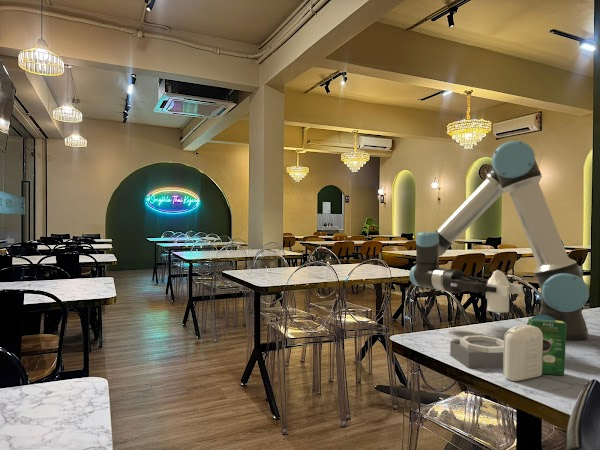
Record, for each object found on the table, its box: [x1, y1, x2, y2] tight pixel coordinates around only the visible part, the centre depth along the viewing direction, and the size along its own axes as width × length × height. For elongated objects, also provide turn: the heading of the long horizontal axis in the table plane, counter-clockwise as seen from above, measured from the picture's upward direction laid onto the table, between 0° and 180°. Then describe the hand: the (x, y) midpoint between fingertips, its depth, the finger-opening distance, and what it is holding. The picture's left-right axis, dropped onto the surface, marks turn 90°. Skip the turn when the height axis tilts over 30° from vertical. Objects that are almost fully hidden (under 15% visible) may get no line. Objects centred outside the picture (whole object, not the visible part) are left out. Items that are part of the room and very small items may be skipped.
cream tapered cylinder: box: [486, 269, 510, 314], centre depth 123 cm, size 6×12×6 cm
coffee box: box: [527, 317, 567, 376], centre depth 104 cm, size 8×3×13 cm, turn 79°
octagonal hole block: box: [449, 334, 504, 369], centre depth 113 cm, size 14×11×5 cm
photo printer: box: [502, 324, 543, 382], centre depth 101 cm, size 10×4×12 cm, turn 116°
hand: (514, 290), depth 119 cm, fingers closed on cream tapered cylinder, 6 cm apart
